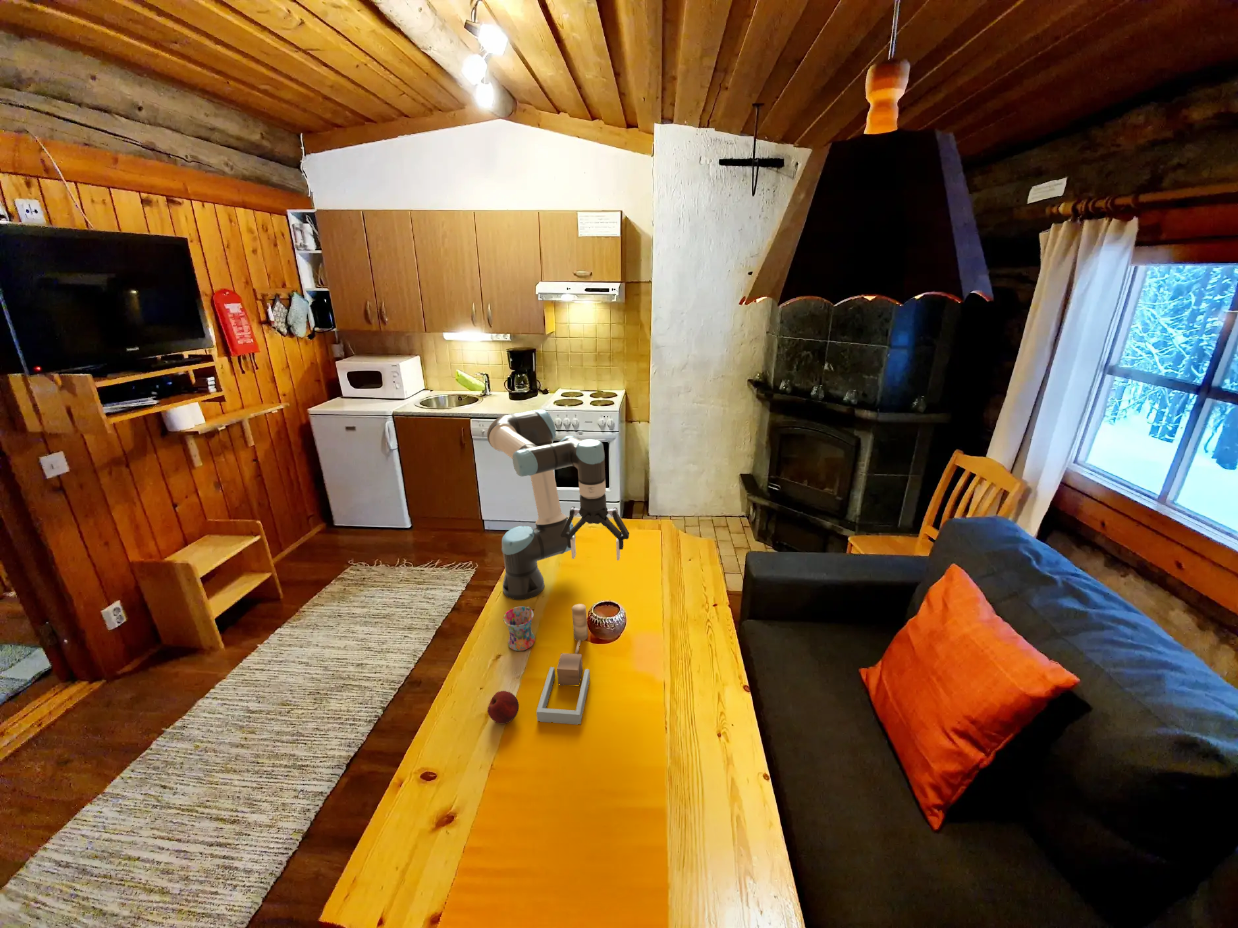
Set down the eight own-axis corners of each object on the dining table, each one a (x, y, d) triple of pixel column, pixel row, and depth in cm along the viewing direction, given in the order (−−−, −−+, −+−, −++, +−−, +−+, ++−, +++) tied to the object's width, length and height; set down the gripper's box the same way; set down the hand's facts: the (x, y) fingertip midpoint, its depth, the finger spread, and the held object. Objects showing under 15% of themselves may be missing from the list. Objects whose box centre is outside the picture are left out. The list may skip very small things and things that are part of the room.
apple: (494, 705, 132) (491, 683, 129) (523, 705, 131) (520, 683, 128) (487, 729, 125) (482, 706, 122) (516, 729, 125) (513, 706, 122)
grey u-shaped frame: (551, 676, 141) (550, 666, 139) (589, 678, 139) (589, 669, 138) (537, 721, 127) (536, 711, 125) (580, 724, 125) (579, 714, 124)
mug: (528, 656, 148) (524, 628, 144) (501, 650, 151) (497, 622, 147) (545, 630, 159) (542, 603, 155) (520, 624, 162) (516, 598, 158)
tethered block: (573, 630, 158) (570, 603, 154) (591, 631, 157) (589, 604, 153) (558, 685, 138) (555, 654, 134) (579, 686, 137) (576, 656, 133)
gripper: (546, 498, 136) (552, 562, 144) (635, 500, 133) (636, 565, 141) (553, 487, 143) (558, 549, 151) (637, 488, 140) (638, 551, 148)
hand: (596, 557), depth 146 cm, fingers open, 13 cm apart
